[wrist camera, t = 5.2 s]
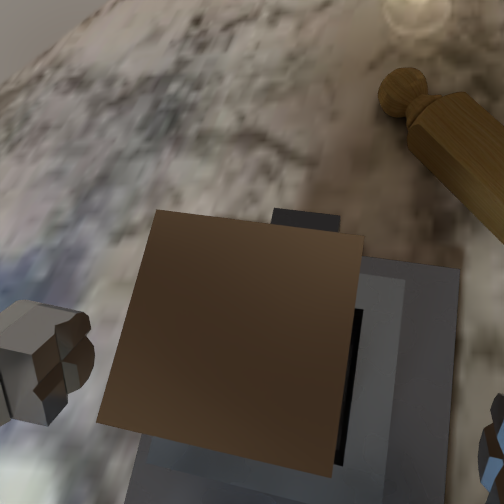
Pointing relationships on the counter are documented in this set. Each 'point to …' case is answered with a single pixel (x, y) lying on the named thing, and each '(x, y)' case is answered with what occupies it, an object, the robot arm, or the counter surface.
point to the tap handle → (452, 142)
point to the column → (238, 339)
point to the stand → (346, 405)
